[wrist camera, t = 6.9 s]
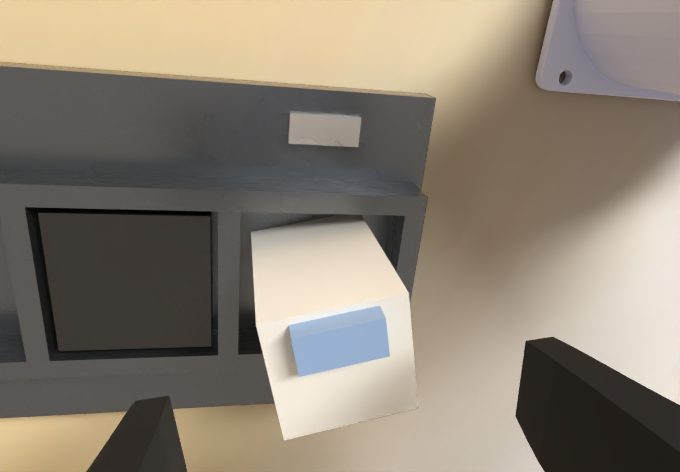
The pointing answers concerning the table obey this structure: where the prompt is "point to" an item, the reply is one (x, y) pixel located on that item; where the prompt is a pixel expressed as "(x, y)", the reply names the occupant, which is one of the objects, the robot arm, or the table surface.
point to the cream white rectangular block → (332, 325)
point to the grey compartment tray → (175, 223)
